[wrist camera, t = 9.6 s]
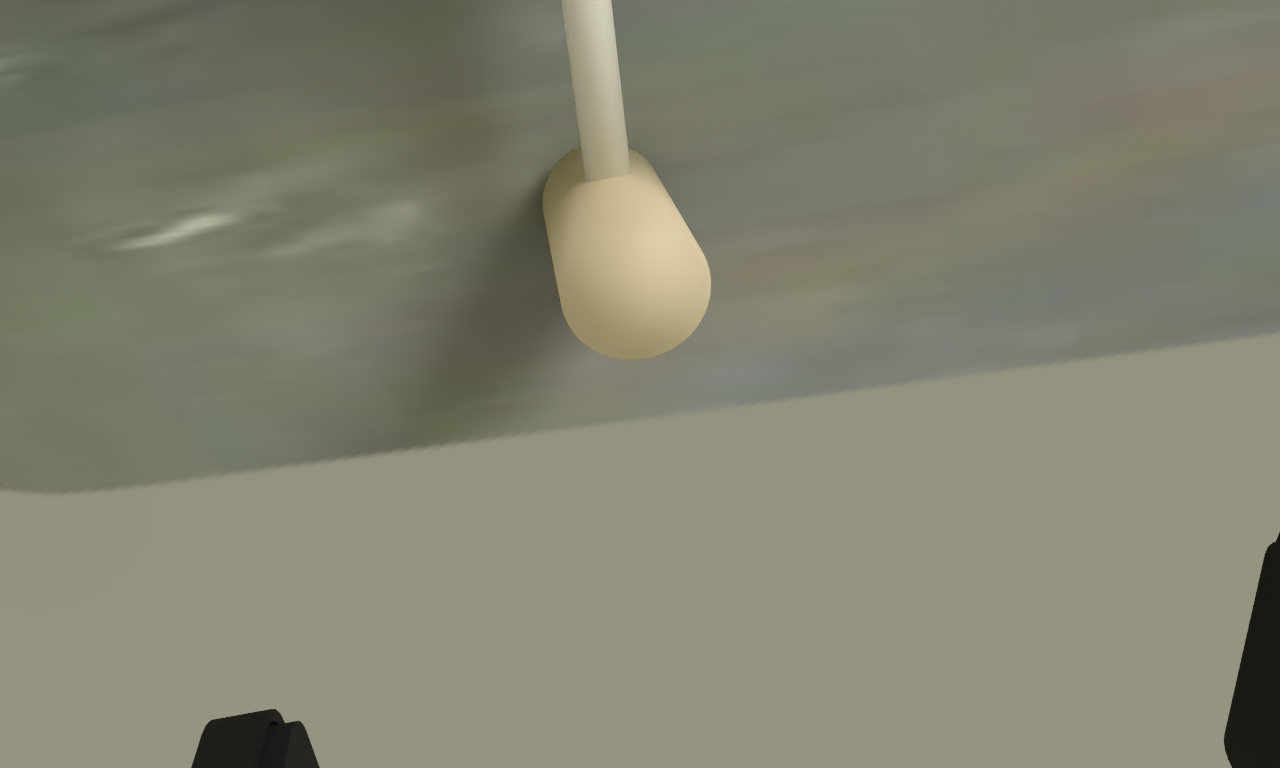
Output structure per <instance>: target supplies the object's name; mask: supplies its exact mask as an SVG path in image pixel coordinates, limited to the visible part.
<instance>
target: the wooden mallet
mask: <svg viewBox="0 0 1280 768" xmlns="http://www.w3.org/2000/svg"><path fill="white" fill-rule="evenodd" d="M561 2H562V9H563V17H564V24H565V31H566V39H567V46H568V54H569V61H570V68H571V76H572V83H573V90H574V98H575V105H576V112H577V120H578V127H579V134H580V142H581V147H579V148H577V149H575V150H573V151H571V152H570V153H568V154H567V155H565V156H564V157H563V158H562V159H561V160H560V161H559V162H558V163H557V164H556V165H555V167H554V168H553V170H552V171H551V173H550V174H549V176H548V179H547V181H546V184H545V187H544V191H543V199H542V206H543V214H544V219H545V224H546V230H547V235H548V240H549V245H550V250H551V255H552V261H553V266H554V271H555V276H556V281H557V286H558V292H559V297H560V302H561V306H562V311H563V314H564V316H565V319H566V321H567V323H568V325H569V327H570V328H571V330H572V331H573V332H574V334H575V335H576V336H577V337H578V338H579V339H580V340H581V341H582V342H583V343H584V344H586V345H587V346H588V347H589V348H591V349H593V350H595V351H596V352H598V353H601V354H603V355H605V356H609V357H612V358H616V359H623V360H639V359H646V358H651V357H655V356H658V355H660V354H663V353H665V352H667V351H669V350H671V349H673V348H674V347H676V346H678V345H679V344H680V343H682V342H683V341H684V340H685V339H687V338H688V337H689V336H690V334H691V333H692V332H693V331H694V330H695V329H696V327H697V326H698V325H699V323H700V321H701V320H702V318H703V316H704V314H705V311H706V309H707V306H708V303H709V299H710V292H711V277H710V271H709V267H708V264H707V261H706V259H705V256H704V254H703V252H702V251H701V249H700V247H699V245H698V244H697V242H696V240H695V239H694V237H693V235H692V234H691V232H690V230H689V228H688V227H687V225H686V223H685V222H684V220H683V218H682V216H681V215H680V213H679V211H678V210H677V208H676V206H675V205H674V203H673V201H672V199H671V198H670V196H669V194H668V193H667V191H666V189H665V188H664V186H663V184H662V182H661V181H660V179H659V177H658V176H657V174H656V172H655V171H654V169H653V168H652V166H651V165H650V164H649V162H648V161H647V160H646V159H645V158H644V157H643V156H642V155H640V154H639V153H637V152H636V151H634V150H633V149H631V148H629V147H628V144H627V135H626V126H625V117H624V109H623V100H622V91H621V83H620V74H619V65H618V56H617V48H616V39H615V30H614V22H613V13H612V4H611V0H561Z"/></svg>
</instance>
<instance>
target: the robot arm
mask: <svg viewBox="0 0 1280 768" xmlns="http://www.w3.org/2000/svg"><path fill="white" fill-rule="evenodd" d="M1224 745H1225V751H1226V754H1227V756H1228V760H1229V762H1230V764H1231V766H1232V768H1280V533H1279V535H1278V538H1277V540H1276V542H1274V543H1272V544H1271V545H1270V546H1269V547H1268V548H1267V551H1266V553H1265V557H1264V561H1263V565H1262V570H1261V574H1260V579H1259V583H1258V588H1257V592H1256V597H1255V601H1254V605H1253V610H1252V615H1251V619H1250V623H1249V628H1248V632H1247V637H1246V641H1245V646H1244V650H1243V654H1242V659H1241V663H1240V668H1239V672H1238V677H1237V681H1236V686H1235V690H1234V695H1233V699H1232V704H1231V708H1230V713H1229V717H1228V721H1227V726H1226V730H1225V736H1224ZM192 768H319V765H318V762H317V759H316V757H315V754H314V751H313V748H312V746H311V743H310V740H309V737H308V735H307V732H306V730H305V727H304V726H303V724H302V723H301V722H300V721H296V722H290V723H285V722H284V720H283V718H282V716H281V714H280V713H279V712H278V711H277V710H276V709H270V710H264V711H259V712H253V713H248V714H242V715H237V716H231V717H226V718H220V719H215V720H211V721H210V722H209V723H208V724H207V725H206V727H205V729H204V731H203V733H202V736H201V739H200V742H199V745H198V748H197V752H196V755H195V758H194V761H193V764H192Z"/></svg>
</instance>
